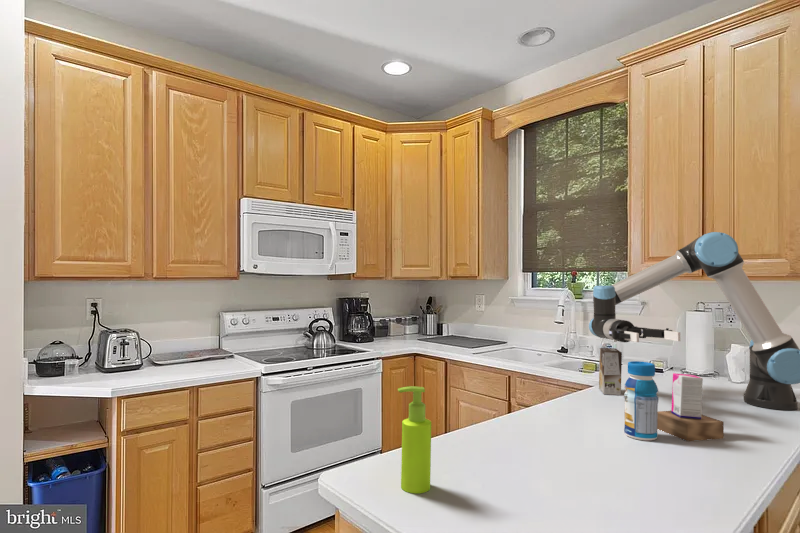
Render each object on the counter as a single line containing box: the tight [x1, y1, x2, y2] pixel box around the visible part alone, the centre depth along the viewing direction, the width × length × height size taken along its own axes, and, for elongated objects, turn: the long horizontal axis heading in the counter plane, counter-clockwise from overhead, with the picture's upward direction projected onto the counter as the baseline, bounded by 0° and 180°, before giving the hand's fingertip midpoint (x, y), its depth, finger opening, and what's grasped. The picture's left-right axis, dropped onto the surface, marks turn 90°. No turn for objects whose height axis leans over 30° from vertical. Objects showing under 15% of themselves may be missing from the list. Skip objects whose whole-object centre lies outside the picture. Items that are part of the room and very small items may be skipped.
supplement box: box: [670, 372, 704, 419], centre depth 137 cm, size 6×6×12 cm
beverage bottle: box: [623, 360, 659, 442], centre depth 133 cm, size 8×8×20 cm
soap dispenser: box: [397, 385, 432, 495], centre depth 98 cm, size 6×7×20 cm
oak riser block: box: [657, 410, 725, 442], centre depth 136 cm, size 12×12×5 cm
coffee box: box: [598, 347, 623, 396], centre depth 184 cm, size 9×6×16 cm
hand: (658, 337), depth 148 cm, fingers open, 13 cm apart
